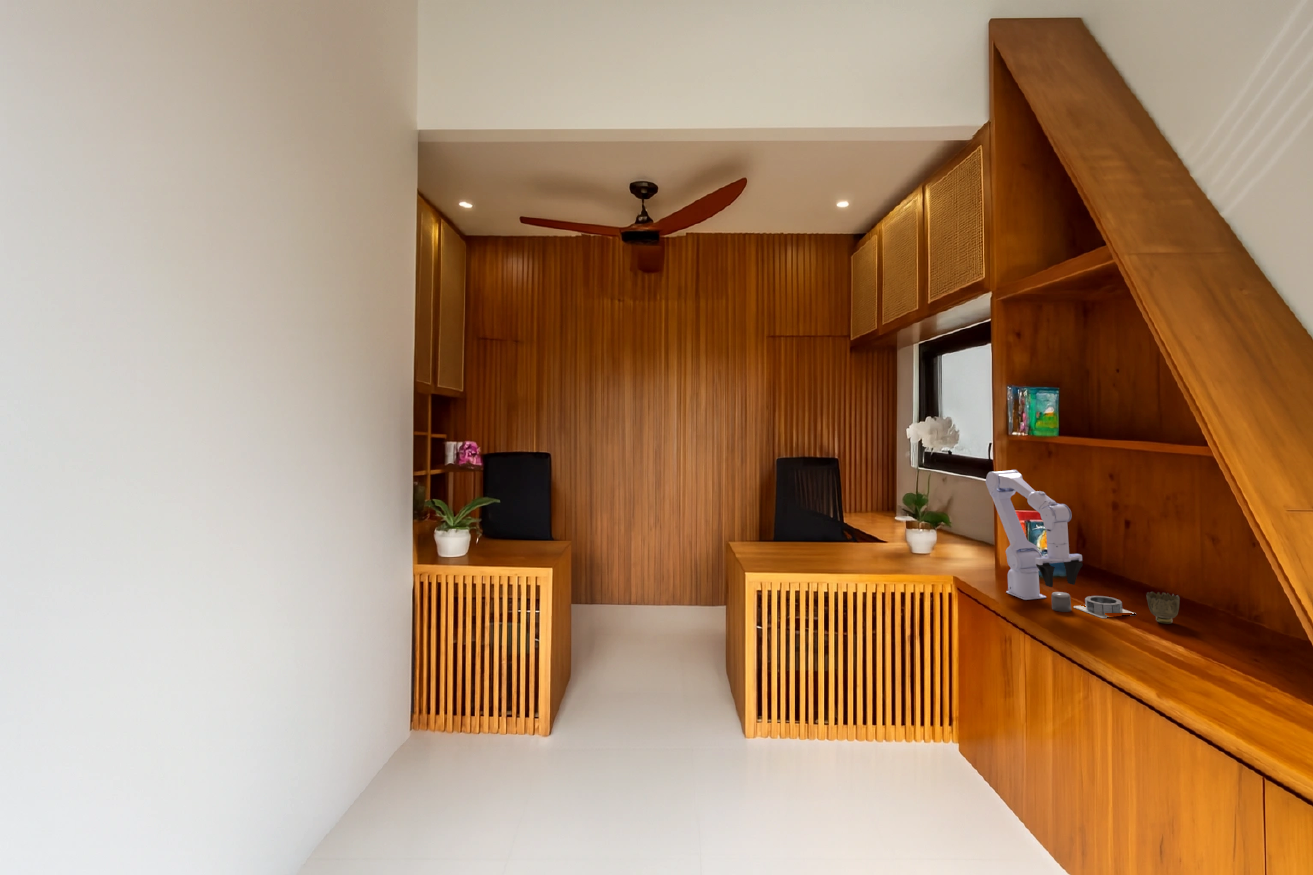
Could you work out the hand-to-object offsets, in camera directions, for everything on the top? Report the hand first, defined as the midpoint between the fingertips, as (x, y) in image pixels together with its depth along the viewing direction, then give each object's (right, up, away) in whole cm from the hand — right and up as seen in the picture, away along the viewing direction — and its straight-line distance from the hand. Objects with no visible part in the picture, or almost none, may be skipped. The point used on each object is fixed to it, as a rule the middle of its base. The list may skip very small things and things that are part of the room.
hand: (1060, 585), depth 186 cm
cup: (+19, -7, -16) cm, 26 cm away
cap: (+1, -8, 0) cm, 8 cm away
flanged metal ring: (+11, -7, -4) cm, 14 cm away
